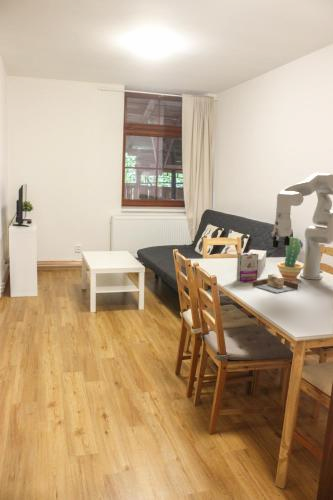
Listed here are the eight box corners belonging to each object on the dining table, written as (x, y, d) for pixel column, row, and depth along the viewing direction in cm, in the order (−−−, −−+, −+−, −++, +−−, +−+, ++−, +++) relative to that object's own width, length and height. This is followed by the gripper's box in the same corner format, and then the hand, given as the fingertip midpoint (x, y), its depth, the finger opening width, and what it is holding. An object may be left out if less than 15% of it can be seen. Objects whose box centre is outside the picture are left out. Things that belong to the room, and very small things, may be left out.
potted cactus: (303, 282, 256) (307, 240, 251) (276, 279, 259) (280, 238, 254) (301, 275, 270) (304, 236, 266) (275, 273, 273) (278, 234, 269)
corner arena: (273, 282, 253) (273, 277, 252) (297, 289, 240) (298, 283, 239) (252, 286, 242) (252, 281, 242) (276, 293, 229) (277, 288, 228)
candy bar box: (253, 279, 257) (255, 252, 254) (257, 281, 253) (259, 253, 250) (235, 280, 254) (237, 252, 251) (239, 282, 250) (241, 254, 247)
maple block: (283, 286, 242) (284, 277, 241) (278, 287, 240) (279, 278, 239) (272, 282, 249) (272, 274, 248) (267, 283, 246) (268, 274, 245)
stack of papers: (249, 264, 299) (250, 249, 297) (265, 266, 296) (266, 250, 294) (242, 274, 269) (243, 257, 267) (259, 276, 266) (261, 259, 264)
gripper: (278, 217, 230) (276, 249, 233) (298, 215, 240) (296, 245, 243) (267, 216, 236) (265, 247, 239) (287, 213, 246) (285, 243, 249)
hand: (281, 246), depth 241 cm, fingers open, 9 cm apart
